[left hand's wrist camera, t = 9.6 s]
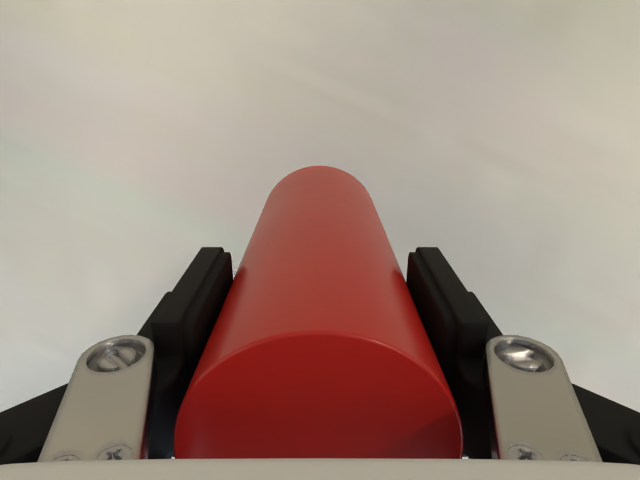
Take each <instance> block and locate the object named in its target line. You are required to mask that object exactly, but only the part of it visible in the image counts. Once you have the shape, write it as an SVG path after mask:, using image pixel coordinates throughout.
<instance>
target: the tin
mask: <svg viewBox="0 0 640 480" xmlns="http://www.w3.org/2000/svg"><path fill="white" fill-rule="evenodd" d="M463 443H464V435H463V427H462V421H461V418H460V415H459V411H458V408H457V406H456V403H455V401H454V398H453V396H452V393H451V391H450V388H449V386H448V384H447V381H446V379H445V376H444V374H443V371H442V369H441V367H440V364H439V362H438V359H437V357H436V354H435V352H434V350H433V347H432V345H431V342H430V340H429V337H428V335H427V333H426V330H425V328H424V325H423V323H422V320H421V318H420V316H419V313H418V311H417V308H416V306H415V303H414V301H413V299H412V296H411V294H410V291H409V289H408V286H407V284H406V282H405V279H404V277H403V274H402V272H401V269H400V267H399V265H398V262H397V260H396V257H395V255H394V252H393V250H392V248H391V245H390V243H389V240H388V238H387V235H386V233H385V231H384V228H383V226H382V223H381V221H380V218H379V216H378V214H377V211H376V209H375V206H374V204H373V201H372V199H371V197H370V195H369V193H368V192H367V190H366V189H365V187H364V186H363V185H362V184H361V183H360V182H359V181H358V180H357V179H356V178H354V177H353V176H352V175H350V174H348V173H346V172H344V171H342V170H340V169H337V168H333V167H328V166H311V167H306V168H302V169H299V170H297V171H294V172H293V173H291V174H289V175H287V176H286V177H285V178H283V179H282V180H281V181H280V182H279V183H278V184H277V185H276V186H275V187H274V189H273V190H272V192H271V193H270V195H269V197H268V199H267V201H266V204H265V206H264V208H263V211H262V213H261V216H260V218H259V220H258V223H257V225H256V228H255V230H254V232H253V235H252V237H251V239H250V242H249V244H248V247H247V249H246V251H245V254H244V256H243V258H242V261H241V263H240V266H239V268H238V270H237V273H236V275H235V277H234V280H233V282H232V285H231V287H230V289H229V292H228V294H227V296H226V299H225V301H224V304H223V306H222V308H221V311H220V313H219V315H218V318H217V320H216V323H215V325H214V327H213V330H212V332H211V335H210V337H209V339H208V342H207V344H206V346H205V349H204V351H203V354H202V356H201V358H200V361H199V363H198V365H197V368H196V370H195V373H194V375H193V377H192V380H191V382H190V384H189V387H188V389H187V392H186V394H185V396H184V399H183V401H182V403H181V406H180V408H179V411H178V414H177V418H176V422H175V426H174V437H173V444H174V455H175V459H269V458H371V459H462V455H463Z"/></svg>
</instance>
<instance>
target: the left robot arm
mask: <svg viewBox="0 0 640 480" xmlns="http://www.w3.org/2000/svg"><path fill="white" fill-rule="evenodd" d="M232 282H233V272H232V260H231V254H230V253H229V252H224V249H223V248H222V247H202V248H201V249H200V251H199V252H198V254H197V255H196V257H195V258H194V260H193V261H192V263H191V264H190V266H189V267H188V269H187V270H186V272H185V273H184V274H183V276H182V277H181V279H180V280H179V282H178V283H177V285H176V286H175V288H174V289H173V291H172V292H167V293H166V294H165V295H164V297H163V298H162V300H161V301H160V302H159V304H158V305H157V307H156V308H155V310H154V311H153V312H152V314H151V315H150V317H149V318H148V320H147V321H146V322H145V324H144V325H143V327H142V328H141V330H140V331H139V332H138V334H137V335H123V336H118V337H113V338H109V339H106V340H104V341H101V342H99V343H97V344H95V345H93V346H91V347H90V348H89V349H87V350H86V351H85V352H84V353H83V354H82V355H81V356H80V358H79V359H78V361H77V364H76V366H75V369H74V371H73V374H72V376H71V379H70V381H69V383H68V384H65V385H63V386H61V387H58V388H56V389H54V390H51V391H49V392H47V393H44V394H42V395H40V396H38V397H35V398H33V399H31V400H28V401H26V402H24V403H21V404H19V405H17V406H14V407H12V408H10V409H7V410H5V411H3V412H1V413H0V480H640V413H639V412H637V411H635V410H632V409H630V408H628V407H625V406H623V405H621V404H618V403H616V402H614V401H611V400H609V399H607V398H605V397H602V396H600V395H598V394H595V393H593V392H591V391H588V390H586V389H584V388H581V387H579V386H577V385H574V384H572V383H571V381H570V379H569V376H568V374H567V371H566V369H565V366H564V364H563V361H562V359H561V358H560V356H559V355H558V354H557V353H556V352H555V351H554V350H553V349H551V348H550V347H549V346H547V345H545V344H543V343H541V342H539V341H536V340H534V339H531V338H527V337H522V336H517V335H503V334H502V333H501V332H500V330H499V329H498V327H497V326H496V324H495V323H494V322H493V320H492V319H491V317H490V316H489V314H488V313H487V312H486V310H485V309H484V307H483V306H482V304H481V303H480V302H479V300H478V299H477V297H476V296H475V294H474V293H473V292H468V291H467V290H466V288H465V287H464V285H463V284H462V282H461V281H460V279H459V278H458V277H457V275H456V274H455V272H454V271H453V269H452V268H451V266H450V265H449V263H448V262H447V260H446V259H445V257H444V256H443V254H442V253H441V251H440V250H439V248H437V247H418V248H417V249H416V252H410V253H409V256H408V268H407V280H406V284H407V286H408V289H409V291H410V294H411V296H412V299H413V301H414V303H415V306H416V308H417V311H418V313H419V316H420V318H421V320H422V323H423V325H424V328H425V330H426V333H427V335H428V337H429V340H430V342H431V345H432V347H433V350H434V352H435V354H436V357H437V359H438V362H439V364H440V367H441V369H442V371H443V374H444V376H445V379H446V381H447V384H448V386H449V388H450V391H451V393H452V396H453V398H454V401H455V403H456V406H457V408H458V411H459V415H460V418H461V421H462V427H463V435H464V443H463V455H462V457H468V459H371V458H269V459H172V457H175V455H174V444H173V437H174V426H175V422H176V418H177V414H178V411H179V408H180V406H181V403H182V401H183V399H184V396H185V394H186V392H187V389H188V387H189V384H190V382H191V380H192V377H193V375H194V373H195V370H196V368H197V365H198V363H199V361H200V358H201V356H202V354H203V351H204V349H205V346H206V344H207V342H208V339H209V337H210V335H211V332H212V330H213V327H214V325H215V323H216V320H217V318H218V315H219V313H220V311H221V308H222V306H223V304H224V301H225V299H226V296H227V294H228V292H229V289H230V287H231V285H232Z"/></svg>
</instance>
